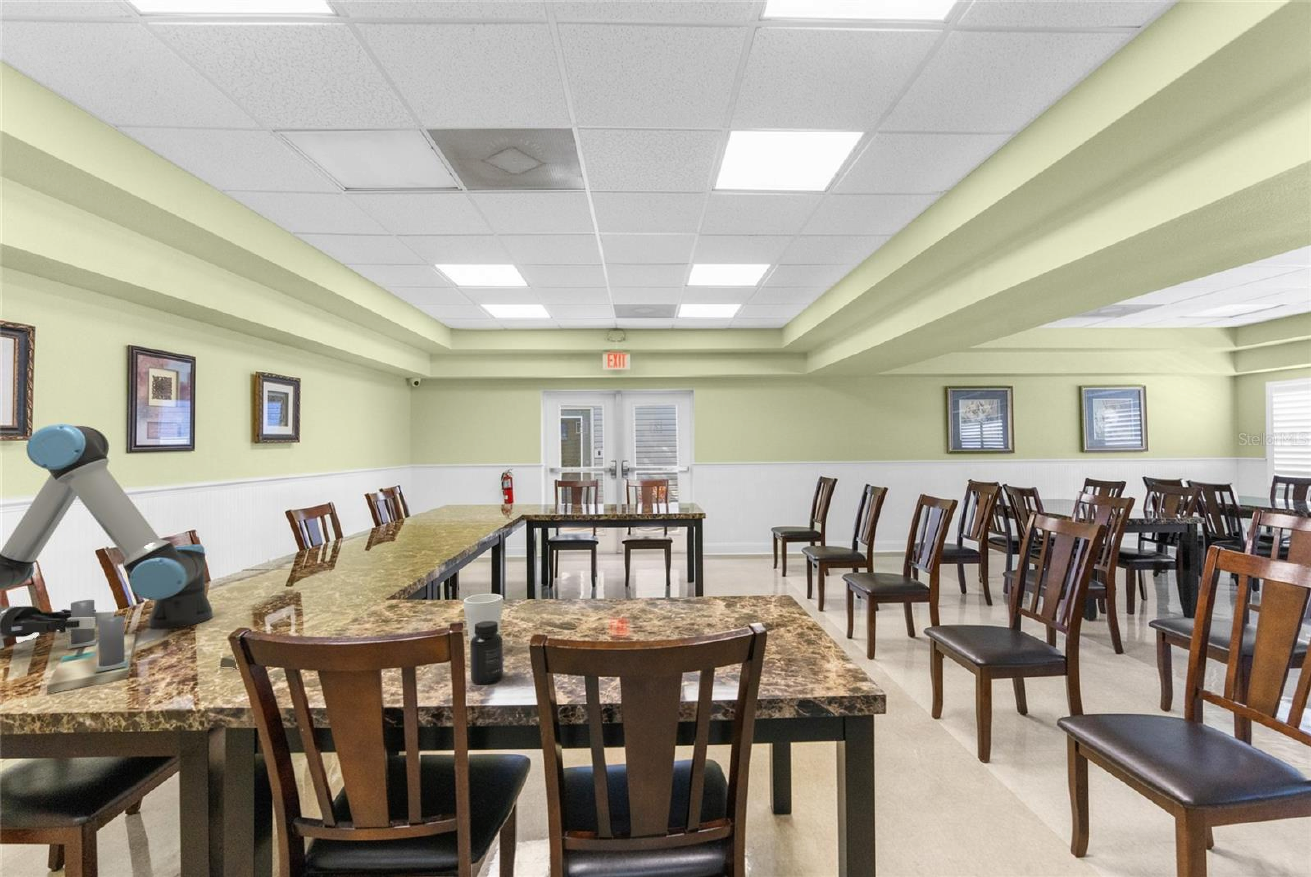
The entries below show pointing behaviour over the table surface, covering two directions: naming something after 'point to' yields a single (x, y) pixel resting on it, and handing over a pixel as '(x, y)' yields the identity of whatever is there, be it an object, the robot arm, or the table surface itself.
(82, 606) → the grey upright block
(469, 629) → the foam cup
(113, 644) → the grey tall block
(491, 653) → the supplement bottle
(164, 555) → the robot arm
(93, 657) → the switch bank
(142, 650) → the table surface
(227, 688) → the table surface
